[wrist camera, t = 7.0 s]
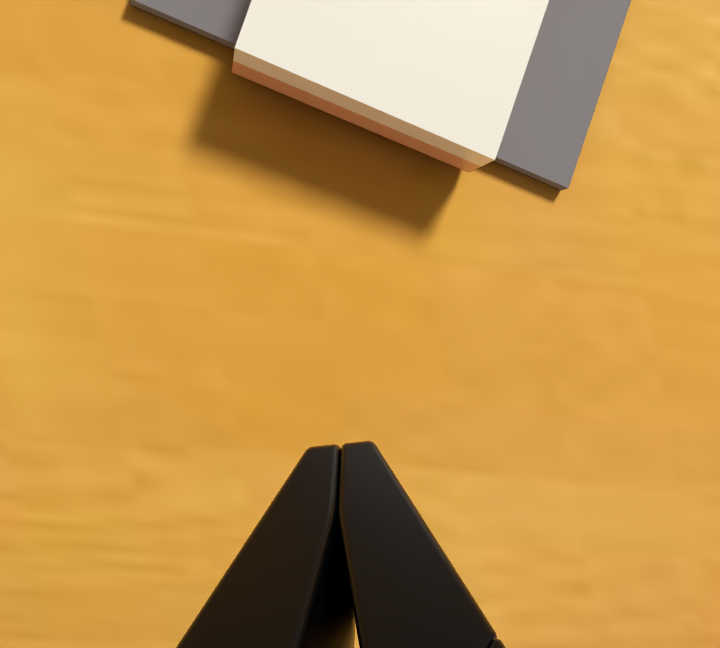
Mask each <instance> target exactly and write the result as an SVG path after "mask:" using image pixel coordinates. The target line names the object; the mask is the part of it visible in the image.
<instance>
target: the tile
mask: <svg viewBox="0 0 720 648" xmlns="http://www.w3.org/2000/svg"><path fill="white" fill-rule="evenodd" d="M548 2H549V0H252V1H251V3H250V6H249V9H248V12H247V15H246V17H245V20H244V23H243V26H242V29H241V31H240V34H239V37H238V40H237V43H236V45H235V49H234V58H233V66H232V73H235V74H237V75H239V76H242V77H244V78H246V79H249V80H251V81H253V82H256V83H258V84H261V85H263V86H265V87H268V88H270V89H272V90H275V91H277V92H279V93H282V94H284V95H287V96H289V97H291V98H294V99H296V100H298V101H301V102H303V103H305V104H308V105H310V106H313V107H315V108H317V109H320V110H322V111H324V112H327V113H329V114H332V115H334V116H336V117H339V118H341V119H343V120H346V121H348V122H350V123H353V124H355V125H358V126H360V127H362V128H365V129H367V130H369V131H372V132H374V133H376V134H379V135H381V136H384V137H386V138H388V139H391V140H393V141H395V142H398V143H400V144H402V145H405V146H407V147H410V148H412V149H414V150H417V151H419V152H421V153H424V154H426V155H429V156H431V157H433V158H436V159H438V160H440V161H443V162H445V163H447V164H450V165H452V166H455V167H457V168H459V169H462V170H464V171H466V172H471V171H473V170H475V169H477V168H479V167H481V166H483V165H486V164H488V163H490V162H492V161H494V160H495V158H496V156H497V153H498V150H499V147H500V144H501V141H502V138H503V135H504V132H505V129H506V126H507V123H508V120H509V117H510V114H511V111H512V108H513V105H514V102H515V99H516V96H517V94H518V91H519V88H520V85H521V82H522V79H523V76H524V73H525V70H526V67H527V64H528V61H529V58H530V55H531V52H532V49H533V46H534V43H535V40H536V37H537V34H538V31H539V29H540V26H541V23H542V20H543V17H544V14H545V11H546V8H547V5H548Z"/></svg>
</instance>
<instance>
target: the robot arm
mask: <svg viewBox="0 0 720 648" xmlns="http://www.w3.org/2000/svg"><path fill="white" fill-rule="evenodd" d="M355 623H356V628H357V634H358V640H359V646H360V648H505V646H504V644H503V643H502V641H501V640H499V639H497V635H496V633H495V631H494V629H493V628H492V626H491V625H490V623H489V622H488V620H487V619H486V617H485V615H484V614H483V612H482V611H481V609H480V608H479V606H478V604H477V603H476V601H475V600H474V598H473V597H472V595H471V593H470V592H469V590H468V589H467V587H466V586H465V584H464V583H463V581H462V579H461V578H460V576H459V575H458V573H457V572H456V570H455V568H454V567H453V565H452V564H451V562H450V561H449V559H448V557H447V556H446V554H445V553H444V551H443V550H442V548H441V546H440V545H439V543H438V542H437V540H436V539H435V537H434V536H433V534H432V532H431V531H430V529H429V528H428V526H427V525H426V523H425V521H424V520H423V518H422V517H421V515H420V514H419V512H418V510H417V509H416V507H415V506H414V504H413V503H412V501H411V499H410V498H409V496H408V495H407V493H406V492H405V490H404V489H403V487H402V485H401V484H400V482H399V481H398V479H397V478H396V476H395V474H394V473H393V471H392V470H391V468H390V467H389V465H388V463H387V462H386V460H385V459H384V457H383V456H382V454H381V453H380V451H379V449H378V448H377V446H376V445H375V444H374V443H373V442H371V441H364V442H354V443H346V444H344V445H343V446H342V448H340V447H339V446H338V445H324V446H314V447H310V448H308V449H307V450H306V451H305V453H304V454H303V456H302V457H301V459H300V460H299V462H298V463H297V465H296V466H295V468H294V470H293V471H292V473H291V474H290V476H289V477H288V479H287V480H286V482H285V483H284V485H283V486H282V488H281V489H280V491H279V492H278V494H277V495H276V497H275V498H274V500H273V501H272V503H271V504H270V506H269V508H268V509H267V511H266V512H265V514H264V515H263V517H262V518H261V520H260V521H259V523H258V524H257V526H256V527H255V529H254V530H253V532H252V533H251V535H250V536H249V538H248V539H247V541H246V542H245V544H244V546H243V547H242V549H241V550H240V552H239V553H238V555H237V556H236V558H235V559H234V561H233V562H232V564H231V565H230V567H229V568H228V570H227V571H226V573H225V574H224V576H223V577H222V579H221V580H220V582H219V584H218V585H217V587H216V588H215V590H214V591H213V593H212V594H211V596H210V597H209V599H208V600H207V602H206V603H205V605H204V606H203V608H202V609H201V611H200V612H199V614H198V615H197V617H196V619H195V620H194V622H193V623H192V625H191V626H190V628H189V629H188V631H187V632H186V634H185V635H184V637H183V638H182V640H181V641H180V643H179V644H178V646H177V647H176V648H354V640H355Z"/></svg>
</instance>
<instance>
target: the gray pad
mask: <svg viewBox="0 0 720 648" xmlns="http://www.w3.org/2000/svg"><path fill="white" fill-rule="evenodd" d="M129 1H130V5H132V6H135V7H137V8H139V9H142V10H144V11H146V12H149V13H151V14H153V15H156V16H158V17H160V18H163V19H165V20H167V21H170V22H172V23H174V24H176V25H179V26H181V27H183V28H186V29H188V30H190V31H193V32H195V33H197V34H200V35H202V36H204V37H207V38H209V39H211V40H214V41H216V42H218V43H221V44H223V45H225V46H228V47H230V48H232V49H235V45H236V43H237V40H238V37H239V34H240V31H241V29H242V26H243V23H244V20H245V17H246V15H247V12H248V9H249V6H250V3H251V1H252V0H129ZM630 2H631V0H549V2H548V5H547V8H546V11H545V14H544V17H543V20H542V23H541V26H540V29H539V31H538V34H537V37H536V40H535V43H534V46H533V49H532V52H531V55H530V58H529V61H528V64H527V67H526V70H525V73H524V76H523V79H522V82H521V85H520V88H519V91H518V94H517V96H516V99H515V102H514V105H513V108H512V111H511V114H510V117H509V120H508V123H507V126H506V129H505V132H504V135H503V138H502V141H501V144H500V147H499V150H498V153H497V156H496V158H495V160H494V161H495V162H497V163H499V164H501V165H504V166H506V167H508V168H511V169H513V170H515V171H518V172H520V173H522V174H525V175H527V176H529V177H532V178H534V179H536V180H539V181H541V182H543V183H546V184H548V185H550V186H553V187H555V188H557V189H559V190H564V189H567V188H569V185H570V182H571V179H572V176H573V173H574V170H575V167H576V164H577V161H578V158H579V155H580V152H581V149H582V146H583V143H584V140H585V137H586V134H587V131H588V128H589V125H590V122H591V119H592V116H593V113H594V110H595V107H596V104H597V101H598V98H599V95H600V92H601V89H602V86H603V83H604V80H605V77H606V74H607V71H608V68H609V65H610V62H611V59H612V56H613V53H614V50H615V47H616V44H617V41H618V38H619V35H620V32H621V29H622V26H623V23H624V20H625V17H626V14H627V11H628V8H629V5H630Z"/></svg>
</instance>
